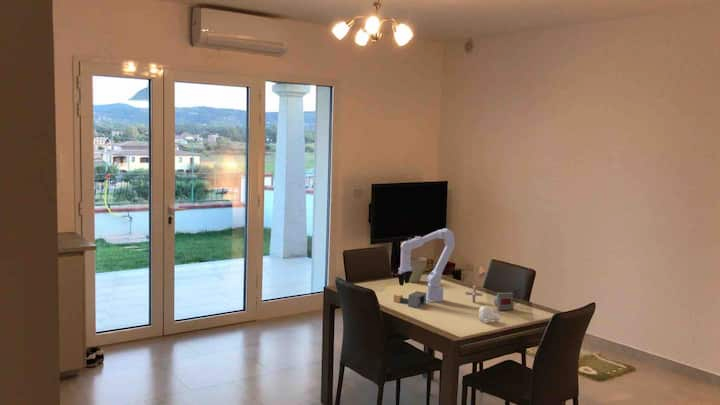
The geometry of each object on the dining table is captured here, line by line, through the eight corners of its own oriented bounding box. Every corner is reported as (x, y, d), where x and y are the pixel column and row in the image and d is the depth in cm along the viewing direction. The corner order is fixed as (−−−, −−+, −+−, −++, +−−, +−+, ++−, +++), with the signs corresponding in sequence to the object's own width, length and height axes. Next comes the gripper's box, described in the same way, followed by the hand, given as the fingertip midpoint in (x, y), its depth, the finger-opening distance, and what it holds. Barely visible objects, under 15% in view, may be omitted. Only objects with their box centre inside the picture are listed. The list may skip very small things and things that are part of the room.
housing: (425, 303, 356) (426, 292, 356) (417, 307, 346) (418, 296, 345) (416, 301, 359) (416, 291, 359) (407, 306, 349) (408, 295, 348)
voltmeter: (508, 313, 345) (509, 296, 344) (489, 309, 352) (490, 292, 351) (524, 304, 367) (526, 288, 366) (506, 301, 373) (508, 285, 372)
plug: (421, 304, 353) (421, 298, 353) (418, 306, 350) (418, 299, 349) (396, 300, 361) (396, 293, 360) (393, 301, 357) (393, 295, 357)
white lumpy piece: (478, 304, 326) (498, 306, 329) (475, 320, 326) (496, 321, 329) (483, 307, 320) (504, 309, 323) (480, 323, 320) (501, 325, 323)
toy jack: (482, 305, 360) (483, 288, 359) (464, 303, 362) (466, 286, 361) (482, 300, 370) (483, 284, 369) (465, 299, 372) (466, 283, 371)
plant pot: (427, 281, 418) (428, 258, 416) (420, 285, 404) (421, 261, 403) (406, 278, 424) (408, 255, 423) (399, 281, 410) (400, 258, 409)
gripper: (404, 259, 369) (402, 281, 371) (394, 262, 357) (392, 285, 358) (414, 260, 366) (413, 282, 367) (405, 264, 353) (403, 287, 354)
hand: (404, 284), depth 362 cm, fingers open, 7 cm apart
